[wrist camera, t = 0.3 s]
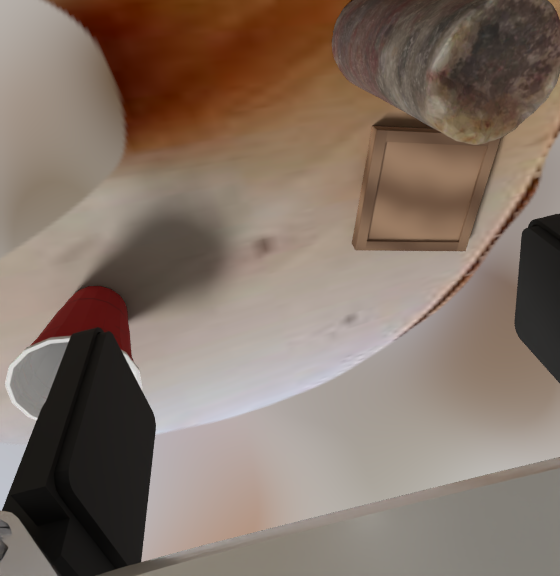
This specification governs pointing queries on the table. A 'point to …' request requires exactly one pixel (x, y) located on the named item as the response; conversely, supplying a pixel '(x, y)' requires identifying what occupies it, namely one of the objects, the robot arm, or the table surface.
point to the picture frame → (420, 190)
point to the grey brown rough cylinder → (453, 60)
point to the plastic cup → (54, 339)
